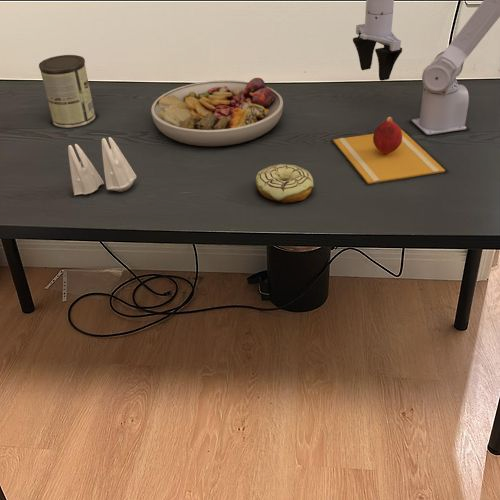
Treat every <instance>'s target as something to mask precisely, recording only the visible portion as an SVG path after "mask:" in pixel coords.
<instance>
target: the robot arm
mask: <svg viewBox="0 0 500 500" xmlns="http://www.w3.org/2000/svg"><path fill="white" fill-rule="evenodd" d="M394 3H395V0H365V16H364V23H362V24H356V26H355V34H356V35H357V37H356V36H355V37H353V38H352V43H353V45H354V47H355V49H356V51H357V55H358V56H357V57H358V60H359V65H360V70H361V71H367V70H371V68H372V64H373V56H374V52H375V54H376V57H377V62H378V63H377V64H378V79H379V81H388V80H390V77H391V74H392V72H393V69H394V66H395V63H396V61H397V60H398V59H399V57H400V55H401V54H402V53H403V48H402V47H401V44H402V40H401V39H399V38H398V37H397V36H396V35H395V34H394V33H393V31H392V29H393V17H394V7H395V5H394ZM498 19H500V0H482V2H481V3H480V5H479V6H478V7H477V9H476V10H475V11H474V12H473V14H472V15H471V16H470V18H469V19H468V20H467V21H466V22H465V24H464V26H462V28H461V29H460V31H459V32H458V33H457V34H456V36H455V37H454V38H453V40H452V41H451V42H450V44H449V45H448V46H447V47H446V48H445V50H443V51H441V52H439V53H438V54H437V55H436V57H434V59H433V60H432V61H431V63H430V64H429V65H427V66H426V67H425V68H424V69H423V72H422V74H421V81H422V84H423V87H422V95H421V103H420V104H421V105H420V112H419V118H413V119H411V123H412V124H414V125H415V126H416V127H417V128H418V129H420V130H421V131H422V132H423V133H424V134H425V135H427V136H431V135H438V134H444V133H451V132H458V131H459V132H460V131H465V130H467V126H466V122H467V114H468V108H469V104H470V102H469V101H470V96H469V91H468V89H467V87H466V86H465V85H463V84H459V83H458V80H457V77H459V76H460V74H461V73H462V72H463V68H464V63H465V61H466V59H467V58H468V57H470V55H471V54H472V52H473V51H474V50H475V49H476V47H477V46H478V45H479V44H480V42H482V40H483V39H484V37H485V36H486V34H488V32H489V31H490V30H491V28H492V27H493V26H494V25H495V23H496V22H497V21H498ZM377 44H380V45H382V46H383V47H378V48H375V47H376V45H377Z"/></svg>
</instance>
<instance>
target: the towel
mask: <svg viewBox="0 0 500 500" xmlns="http://www.w3.org/2000/svg"><path fill="white" fill-rule="evenodd" d="M401 132H402V142H401V144H400V146H399V147H398V148H397V149H396V150H394V151H393V152H391V153H389V154H384V153H382V152H380V151H379V150H378V149H377V148H376V147H375V145H374V143H373V135H374V133H369V134H362V135H355V136H348V137H339V138H335V139H334V138H333V139H332V142H333V143H334V145H336V146H337V148H338V149H339V150H340V152H341V153H342V154H343V156H344V157H345V158H346V159H347V160H348V162H349V163H350V164H351V165H352V167H353V168H354V169H355V170H356V172H357V173H358V174H359V175H360V176H361V178H362V179H363V180H364V181H365V182H366V184H367V185H371V184H377V183H382V182H390V181H397V180H404V179H409V178H417V177H421V176H422V177H423V176H427V175H434V174H441V173H445V172H446V169H445V168H444V167H442V166H441V165H440V164H439V163H438V162H437V161H436V160H435V159H434V158H433V157H432V156H431V155H430V154H429V153H428V152H427V151H425V150H424V149H423V148H422V147H421V146H420V145H419V144H418V143H417V142H416V141H415V140H414V139H412V138H411V137H410V136H409V134H408V133H406V132H405V131H404V129H401Z"/></svg>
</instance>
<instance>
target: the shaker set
mask: <svg viewBox="0 0 500 500" xmlns="http://www.w3.org/2000/svg"><path fill="white" fill-rule="evenodd" d="M107 139H108V142H107ZM107 139H106V138H105V137H103V138H102V139H101V154H102V163H103V171H104V172H103V173H104V179H103V178H102V177H101V174H99V172H98V171H97V169H96V168H95V166H94V164H93V163H92V162H91V160H90V159H89V157H88V156H87V154H85V152H84V150H83V149H82V148H81V147H80V146H79V144H77V143H75V144H74V147H75V150H76V152H75V150H74V147H73V146H72V145H71V144H69V145H68V146H67V153H68V154H67V155H68V162H69V170H70V178H71V183H72V190H73V195H74V196H77V195H88V194H92V193H94V192H96V191H97V190H99V187H100V186H101V185H104V184H105V189H106V190H107V191H114V192H118V193H119V192H120V193H123V192H126V191H128V190H129V189H130V188H131V187H132V186H133V184H134V182H135V180H136V179H137V174H136V173H135V171H134V170H133V168H132V166H131V165H130V163H129V162H128V160H127V159H126V157H125V156H124V154H123V152H122V151H121V149H120V148H119V146H118V145H117V143H116V142H115V141H114V139H113V137H111V136H109V137H107ZM108 143H109V144H108ZM76 153H77V154H76ZM77 155H78V156H77ZM78 158H79V159H78ZM79 160H80V161H79ZM104 180H105V182H104Z"/></svg>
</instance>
